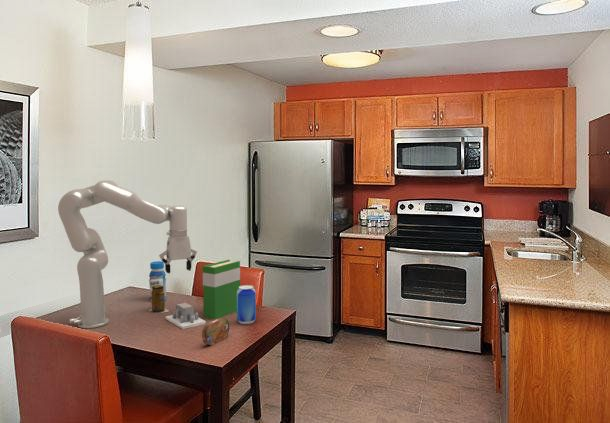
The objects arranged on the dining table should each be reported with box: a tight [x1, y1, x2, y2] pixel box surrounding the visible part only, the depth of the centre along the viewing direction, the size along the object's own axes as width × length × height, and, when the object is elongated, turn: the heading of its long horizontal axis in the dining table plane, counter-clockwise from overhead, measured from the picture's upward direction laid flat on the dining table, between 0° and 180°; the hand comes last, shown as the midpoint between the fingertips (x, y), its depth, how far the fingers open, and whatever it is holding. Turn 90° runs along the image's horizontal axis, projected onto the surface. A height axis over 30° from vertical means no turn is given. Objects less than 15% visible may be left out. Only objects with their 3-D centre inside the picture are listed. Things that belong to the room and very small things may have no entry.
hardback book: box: [202, 259, 241, 320], centre depth 222 cm, size 18×7×24 cm, turn 147°
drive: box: [175, 302, 195, 322], centre depth 211 cm, size 4×10×6 cm, turn 39°
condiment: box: [148, 285, 170, 314], centre depth 226 cm, size 7×8×12 cm
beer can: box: [236, 284, 257, 325], centre depth 210 cm, size 8×8×16 cm
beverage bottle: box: [148, 260, 167, 302], centre depth 244 cm, size 8×8×20 cm
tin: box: [201, 317, 230, 346], centre depth 187 cm, size 15×3×8 cm, turn 153°
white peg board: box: [165, 310, 207, 330], centre depth 211 cm, size 11×18×4 cm, turn 39°
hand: (178, 271), depth 210 cm, fingers open, 9 cm apart
